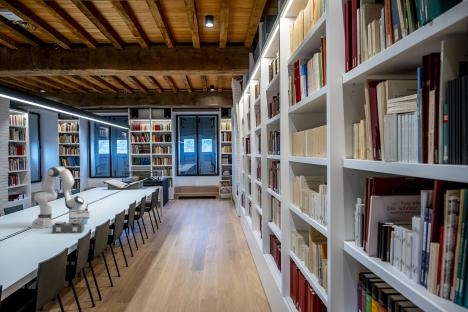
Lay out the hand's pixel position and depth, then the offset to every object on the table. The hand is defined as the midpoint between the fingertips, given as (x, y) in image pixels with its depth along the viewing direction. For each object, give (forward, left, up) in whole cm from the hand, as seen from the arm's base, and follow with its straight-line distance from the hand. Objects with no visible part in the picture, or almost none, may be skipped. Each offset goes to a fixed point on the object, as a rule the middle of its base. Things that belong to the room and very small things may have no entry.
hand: (78, 222), depth 358 cm
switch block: (-9, -4, -10) cm, 14 cm away
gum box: (-12, +38, -10) cm, 41 cm away
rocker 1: (-17, -4, 0) cm, 17 cm away
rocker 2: (-1, -4, 0) cm, 4 cm away
